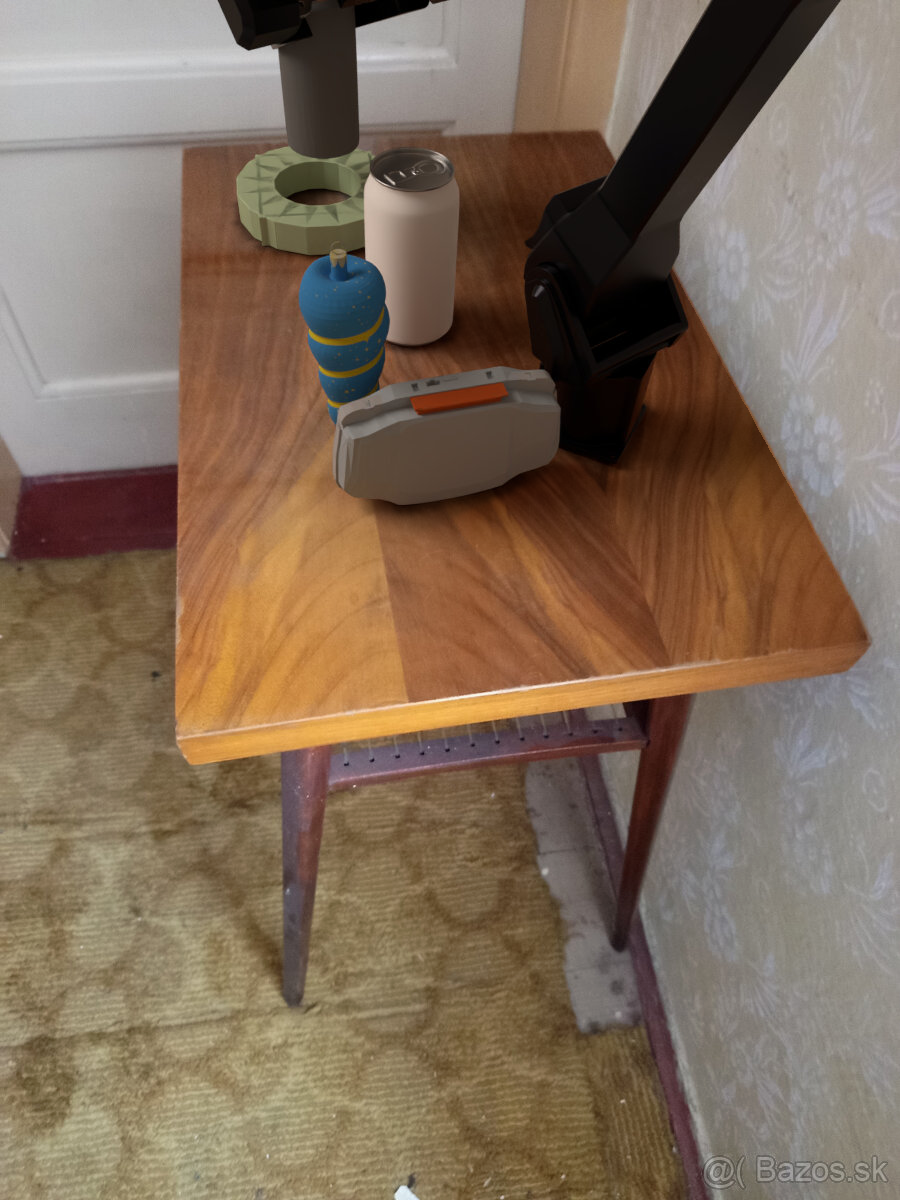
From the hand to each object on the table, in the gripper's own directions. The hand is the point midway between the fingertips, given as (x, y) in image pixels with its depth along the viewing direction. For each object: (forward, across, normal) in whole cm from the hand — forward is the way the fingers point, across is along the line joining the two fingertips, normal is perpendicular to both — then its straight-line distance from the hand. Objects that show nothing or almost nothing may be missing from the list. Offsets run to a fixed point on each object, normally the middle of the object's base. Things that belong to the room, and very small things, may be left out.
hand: (307, 33), depth 69 cm
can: (-3, +4, +23) cm, 23 cm away
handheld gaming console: (-14, +12, +33) cm, 38 cm away
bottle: (+4, 0, +6) cm, 8 cm away
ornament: (-10, +15, +29) cm, 34 cm away
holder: (+8, +1, +10) cm, 13 cm away
